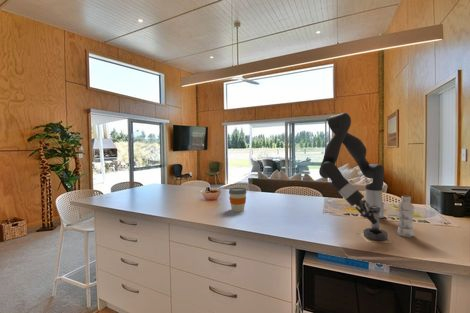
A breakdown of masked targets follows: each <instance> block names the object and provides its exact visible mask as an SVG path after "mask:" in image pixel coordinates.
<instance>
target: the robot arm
mask: <svg viewBox="0 0 470 313" xmlns="http://www.w3.org/2000/svg"><path fill="white" fill-rule="evenodd" d="M351 124H352V118H351V115H350V114H348V113H347V112H341V113H338V114H335V115H332V116H329V118H328V120H327V125H328V127H329V129H330V130H331V131H332V132H333V134H334V136H333V137H331V139H330V140H329V142H328V143H327V144H326V148H325V150H324V155H323V159H322V162H321V164H320V167H319V170H318V172H319V174H318V175H320V177H321V178H322V179H330V181H331V185H332V186H333V188H335V190H336V191H337V192H338V193H339V194H340V195H341V196H342V197H343V199H344V200H345V201H346V202H347V203H348V204H349V205H350V206H351V207H353V206H355V210H357V211H358V213H359V214H360V215H362V217H363V218H365V219H367V220H369V222H370V223H371V222H372V223H373V224H375V223H377V220H376V219H375V218H374V217H373V216H372V211H371V206H377V207H380V208H381V209H380V212H379V219H382V218H383V219H384V217H385V216H384V207H385V206H384V201H383V187H384V179H385V168H384V167H383V165H382V164H379V163H378V164H377V163H370V162H368V159H366V156H367V148H366V146H365V144H364V143H363V141H362V140H361V139H360V138H359V137H356V136H355V135H353V134H350V133H349V129H350V127H351V126H352V125H351ZM342 145H343V146H344V147H345V149H346V150H347V152H348V153H349V154H350V156H351V157H352V158H353V160H354V161H355V163H356V164H357V166H358V168H359V170H360V171H361V174H362V175H363V176H364V177H365V178H367V179H371V180H372V182H371V183H367V184H365V196H364V194H362V192H360V191H359V189H357V188H356V187H355V185H353V184H352V183H350V182H349V181H348V179H347V178H345V177H344V175H343V174H342V172H341V171H340V169H339V168H338V166H337V165H336V163H337V160H338V158H339V154H340V150H341V148H342ZM364 197H365V199H364Z"/></svg>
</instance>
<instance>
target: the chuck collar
mask: <svg viewBox="0 0 470 313" xmlns="http://www.w3.org/2000/svg"><path fill="white" fill-rule="evenodd" d="M363 233H364V237H366V238H367V239H369V240H373V241H386V240H387V237H388V232H387V231H385V230H383V229H380V228H379V233H373V232H371V227H370V228H368V227H367V228H365V229H363Z"/></svg>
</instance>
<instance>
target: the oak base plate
mask: <svg viewBox="0 0 470 313" xmlns="http://www.w3.org/2000/svg"><path fill="white" fill-rule="evenodd" d="M356 234H357V235H359V236H360V237H361V238H362V239H363V240H365V241H366V242H367V243H381V244H385V243H386V244H387V243H389V244H396V242H395V241H394V240H392V239H391V238H390V237H388V236H387V240H386V241H373V240H369V239H367V238H366V237H364V232H357V233H356Z"/></svg>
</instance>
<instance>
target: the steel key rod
mask: <svg viewBox="0 0 470 313" xmlns="http://www.w3.org/2000/svg"><path fill="white" fill-rule="evenodd" d="M380 209H381V208H380V207H377V206H371V211H372V216H373V217H374V218H375V219H376V220H377V223H375V224H373V223H372V222H371V221H370V223H371V227H370V228H371V232H373V233H379V229H380V218H379V212H380Z"/></svg>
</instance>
